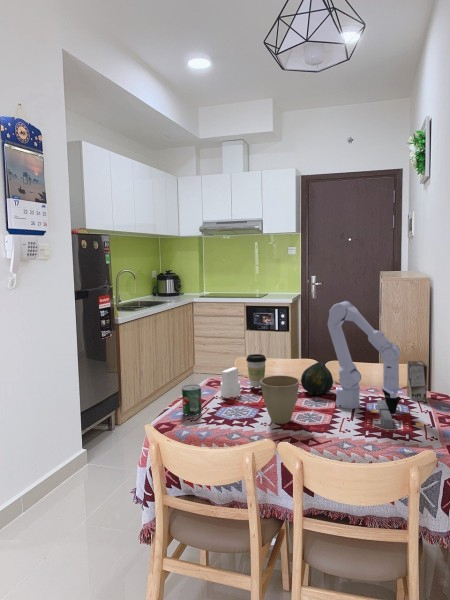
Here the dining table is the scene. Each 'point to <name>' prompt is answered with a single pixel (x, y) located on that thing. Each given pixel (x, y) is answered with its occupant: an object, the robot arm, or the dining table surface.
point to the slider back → (381, 405)
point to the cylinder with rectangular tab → (230, 383)
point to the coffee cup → (256, 368)
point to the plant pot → (280, 397)
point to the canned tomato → (191, 399)
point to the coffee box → (416, 380)
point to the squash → (317, 379)
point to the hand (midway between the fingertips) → (390, 410)
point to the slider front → (386, 419)
